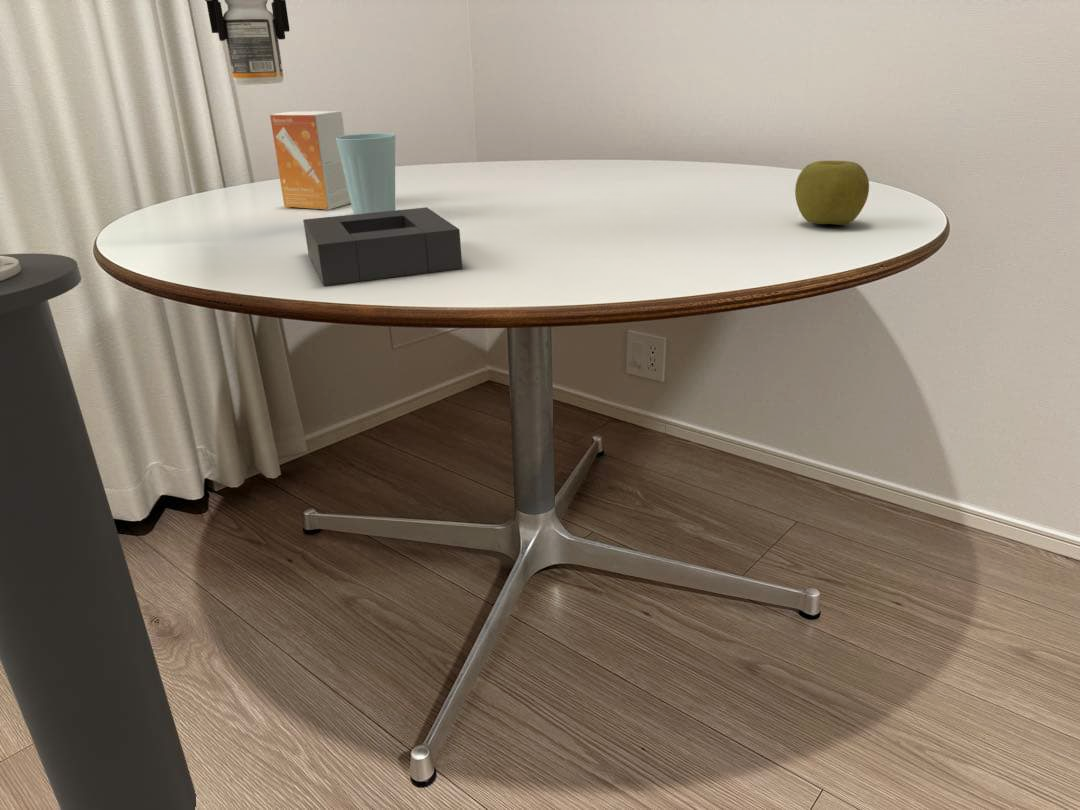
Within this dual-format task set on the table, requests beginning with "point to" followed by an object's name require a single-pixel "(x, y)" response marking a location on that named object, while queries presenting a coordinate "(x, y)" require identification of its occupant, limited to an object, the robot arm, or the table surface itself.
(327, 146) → the small box
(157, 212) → the table surface
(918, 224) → the table surface
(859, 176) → the apple
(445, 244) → the dock
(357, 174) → the cup
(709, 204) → the table surface
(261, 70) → the pill bottle
